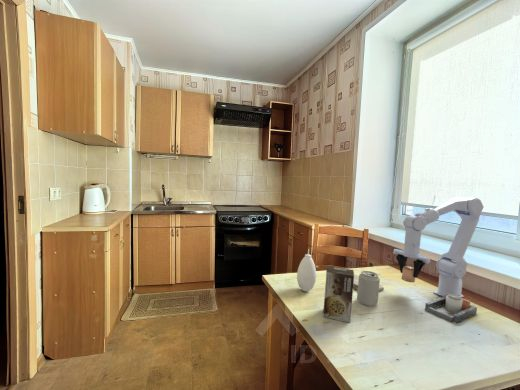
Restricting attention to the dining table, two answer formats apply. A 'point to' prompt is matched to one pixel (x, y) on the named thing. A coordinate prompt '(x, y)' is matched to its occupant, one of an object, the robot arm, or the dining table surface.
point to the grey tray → (455, 318)
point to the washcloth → (356, 280)
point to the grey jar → (453, 303)
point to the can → (368, 288)
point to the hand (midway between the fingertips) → (408, 274)
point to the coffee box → (338, 293)
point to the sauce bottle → (306, 273)
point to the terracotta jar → (408, 274)
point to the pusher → (464, 303)
